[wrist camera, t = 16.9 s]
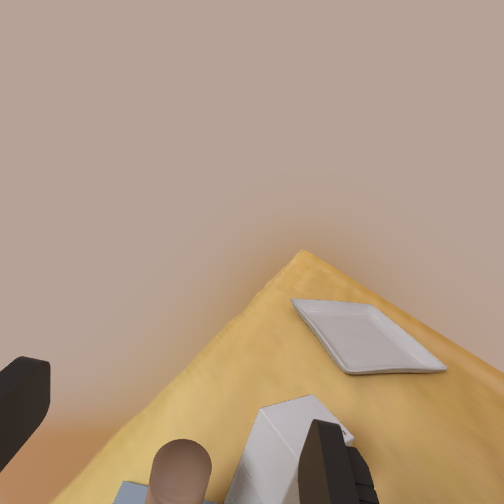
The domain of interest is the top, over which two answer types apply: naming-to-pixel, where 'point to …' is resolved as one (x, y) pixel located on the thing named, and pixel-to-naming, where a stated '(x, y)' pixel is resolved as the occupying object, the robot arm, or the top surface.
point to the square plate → (364, 338)
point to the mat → (136, 494)
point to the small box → (277, 452)
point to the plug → (179, 474)
